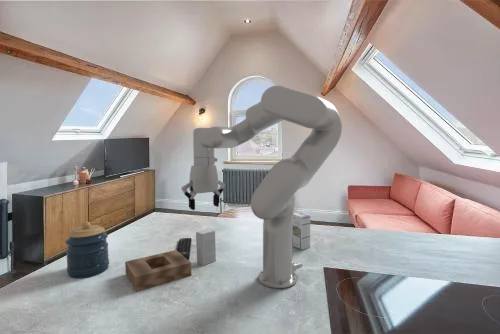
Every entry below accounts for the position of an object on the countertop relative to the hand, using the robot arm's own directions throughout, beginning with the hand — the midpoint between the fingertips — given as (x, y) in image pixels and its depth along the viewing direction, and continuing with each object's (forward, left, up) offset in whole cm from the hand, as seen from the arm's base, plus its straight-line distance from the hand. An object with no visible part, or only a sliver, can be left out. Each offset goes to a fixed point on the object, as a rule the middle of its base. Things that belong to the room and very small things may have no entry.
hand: (204, 207), depth 105 cm
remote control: (+2, -17, -22) cm, 27 cm away
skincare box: (0, 0, -21) cm, 21 cm away
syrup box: (-40, +10, -21) cm, 46 cm away
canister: (+37, -18, -21) cm, 46 cm away
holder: (+18, 0, -21) cm, 27 cm away
